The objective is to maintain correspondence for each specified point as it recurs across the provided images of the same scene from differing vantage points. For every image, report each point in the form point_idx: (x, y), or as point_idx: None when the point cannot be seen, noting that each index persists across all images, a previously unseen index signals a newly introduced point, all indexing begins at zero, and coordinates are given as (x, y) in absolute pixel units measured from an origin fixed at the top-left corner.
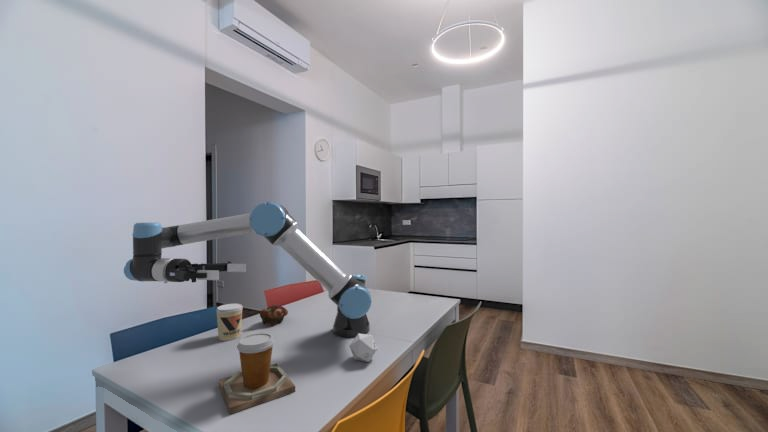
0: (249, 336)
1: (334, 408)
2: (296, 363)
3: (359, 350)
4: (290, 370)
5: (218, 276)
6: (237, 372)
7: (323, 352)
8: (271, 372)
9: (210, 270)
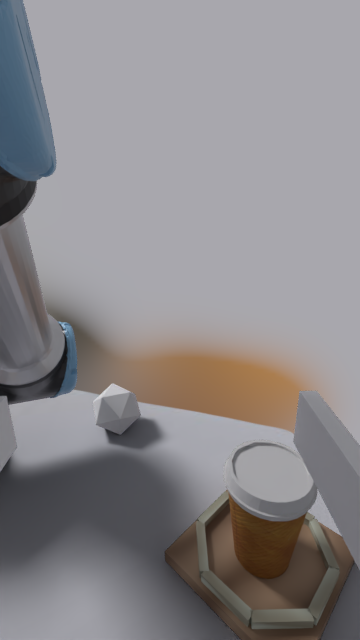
0: (258, 496)
1: (258, 427)
2: (136, 524)
3: (137, 406)
4: (171, 522)
5: (299, 424)
6: (255, 620)
7: (80, 489)
8: (211, 539)
9: (332, 428)
